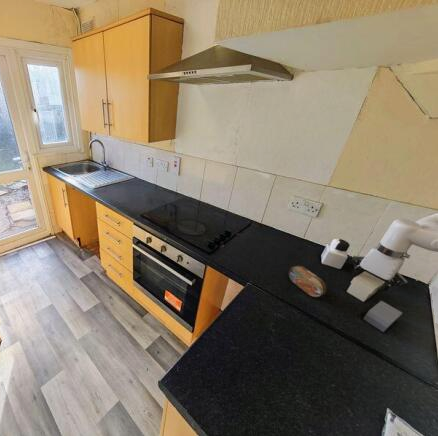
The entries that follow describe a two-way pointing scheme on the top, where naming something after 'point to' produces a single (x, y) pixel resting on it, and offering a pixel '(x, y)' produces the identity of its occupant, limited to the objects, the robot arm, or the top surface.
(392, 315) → the grey block
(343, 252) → the container
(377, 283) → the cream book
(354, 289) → the beige block
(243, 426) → the top surface
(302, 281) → the tin
